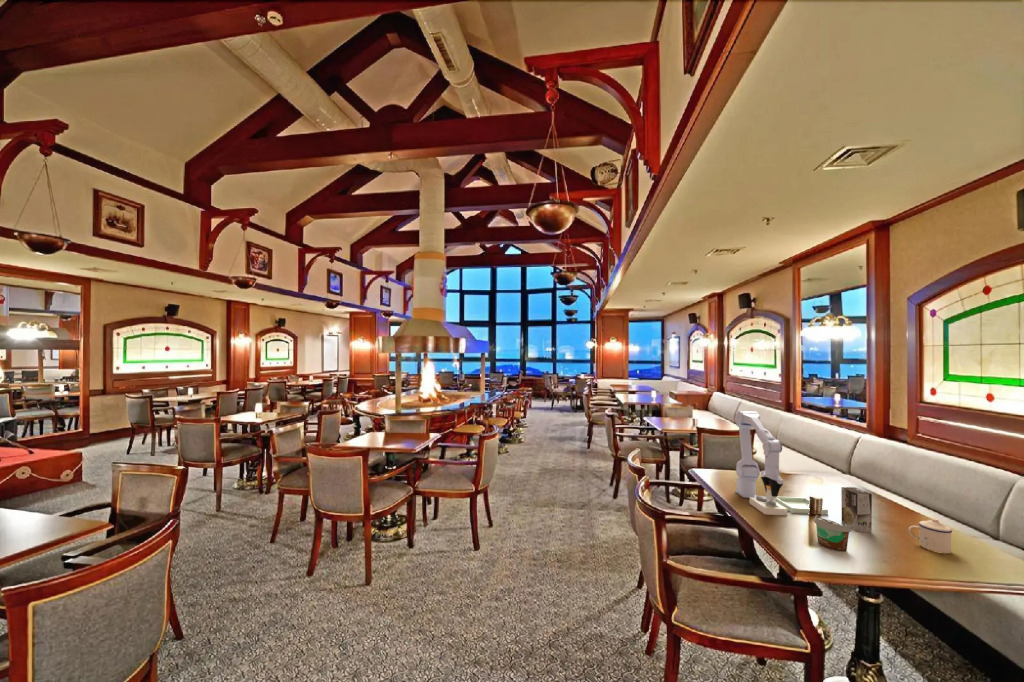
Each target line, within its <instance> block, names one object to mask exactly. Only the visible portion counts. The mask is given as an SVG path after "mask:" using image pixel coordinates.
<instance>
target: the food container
mask: <svg viewBox="0 0 1024 682" xmlns="http://www.w3.org/2000/svg"><path fill="white" fill-rule="evenodd" d="M813 522H814V524H815V525H816V526H815V527H816V538H817V544H819V546H821V547H823V548H826V549H828V550H831V551H835V552H841V553H842V552H847V551H848V542H849V538H850V537H849V534H850V532H852V528H850V526H846V525H843V524H840V523H838V522H836V521H833V520H829V519H825V518H823V517H820V515H815V517H814V519H813Z"/></svg>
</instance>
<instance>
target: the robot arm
mask: <svg viewBox="0 0 1024 682" xmlns="http://www.w3.org/2000/svg"><path fill="white" fill-rule="evenodd" d="M735 424H736V425H735V426H736V427H738V430H739V431H738V432H739V444H740V453H741V454H740V455H741V459H740V460H738V461H737V462H736V467H735V472H736V476H737V480H736V490H735V491H734V492H735V493H736V494H738V495H739V496H741V497H742V498H745V499H746V498H749V499H750V497H753V498H756V496H757V495H756V489H757V488H756V482H757V480H758V479H759V478H760V479H761V480H762V483H763V486H764V490H765V493H766V494H767V488H766V485H767V484H770V487H771V494H772V496H773V497H777V496H778V495H779V492H780V490H781V488H782V487H783V486H784V479H782V477H781V476H780V453H782V452H783V444H782V442H781V441H780V440H779V439H777V438H775V437H774V436H773V435H772V434H771V432H770V431H769V430H768V429H766V428H765V427H764V426H763V424H762V423H761V416H760V413H759V412H758V411H746V410H745V411H744V410H738V411H737V412H736V413H735ZM751 428H754V430H755V431H756V432H757V433H756V436H757V438H758V439H759V441H760V442H761V444H762V451H763V455H764V470H761V471H760V467H759V463H757V462H756V461H755V460H754V459H753V451H752V441H751ZM761 475H762V476H761ZM778 497H779V496H778Z"/></svg>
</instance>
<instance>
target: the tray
mask: <svg viewBox="0 0 1024 682" xmlns="http://www.w3.org/2000/svg"><path fill="white" fill-rule="evenodd" d="M809 500H810V499H808V498H807V497H795V496H777V498H776V502H777V503H779V504H780V505H782V506H783V507H785V508H787V509H788V510H787V512H790V513H791V514H793V515H794V514H795V515H797V514H798V515H809V514H808V513H809V511H810V508H809V507H808V504H809ZM828 515H829V511H828V509H827V508H826V507H823V506H822V510H821V515H820V516H828Z"/></svg>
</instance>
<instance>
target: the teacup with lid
mask: <svg viewBox="0 0 1024 682" xmlns="http://www.w3.org/2000/svg"><path fill="white" fill-rule="evenodd" d="M918 525H919V526H918ZM918 525H911V526H909V527H908V532H909V535H910V536H911V537H912V538H914V539H916V540H919V546H920V545H921V546H922V547H925V548H927V549H930V550H933V551H937V552H942V553H950V552H951V553H952V532H953V530H952V528H951V527H949V526H948V525H946V524H944V523H942V522H940V520H939V519H938V518H933V517H932V518H931V519H929V520H922V521H921V520H920V521H919V522H918ZM912 529H918V530H919V537H918V536H916V535H914V534H913V533H912V532H913V531H912ZM921 546H920V547H921ZM922 547H921V548H922ZM951 553H950V554H951Z"/></svg>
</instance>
